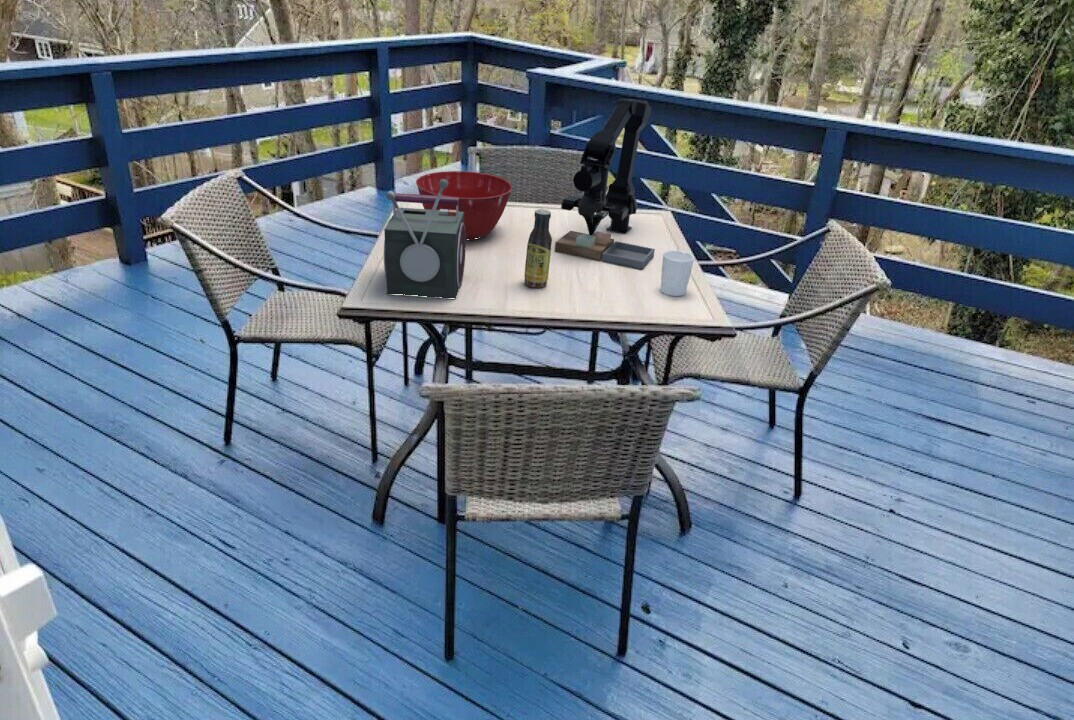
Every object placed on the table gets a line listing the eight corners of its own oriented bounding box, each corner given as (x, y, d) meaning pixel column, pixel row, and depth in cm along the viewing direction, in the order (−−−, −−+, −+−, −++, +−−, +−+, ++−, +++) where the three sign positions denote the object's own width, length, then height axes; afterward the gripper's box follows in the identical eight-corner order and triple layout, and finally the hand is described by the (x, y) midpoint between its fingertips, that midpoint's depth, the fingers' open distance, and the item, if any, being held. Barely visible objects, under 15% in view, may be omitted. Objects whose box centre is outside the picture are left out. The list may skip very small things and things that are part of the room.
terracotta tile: (596, 237, 223) (597, 231, 222) (610, 240, 222) (611, 234, 221) (590, 241, 220) (591, 235, 219) (605, 244, 218) (606, 238, 217)
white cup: (670, 283, 204) (675, 248, 199) (694, 292, 199) (700, 256, 194) (652, 290, 199) (657, 254, 194) (676, 299, 194) (682, 263, 189)
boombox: (465, 271, 202) (467, 160, 188) (456, 303, 184) (457, 182, 169) (398, 267, 202) (395, 155, 188) (382, 298, 184) (377, 177, 169)
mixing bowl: (496, 216, 245) (497, 168, 237) (521, 246, 221) (524, 195, 214) (409, 220, 236) (408, 171, 229) (426, 252, 213) (426, 199, 205)
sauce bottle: (519, 285, 196) (523, 211, 186) (531, 277, 201) (535, 205, 191) (541, 291, 193) (547, 216, 184) (552, 283, 198) (558, 210, 189)
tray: (614, 249, 224) (615, 241, 223) (653, 257, 220) (654, 248, 219) (601, 261, 214) (602, 253, 213) (642, 270, 211) (643, 261, 209)
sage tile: (581, 240, 220) (581, 233, 220) (595, 243, 219) (596, 236, 218) (575, 244, 217) (576, 238, 216) (590, 247, 215) (590, 240, 214)
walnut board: (569, 239, 229) (570, 230, 227) (613, 248, 224) (614, 239, 223) (554, 251, 219) (555, 242, 218) (600, 261, 215) (601, 251, 213)
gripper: (555, 184, 211) (551, 237, 218) (618, 196, 204) (612, 250, 212) (570, 175, 220) (566, 227, 227) (631, 187, 213) (624, 239, 221)
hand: (591, 236), depth 222 cm, fingers closed
